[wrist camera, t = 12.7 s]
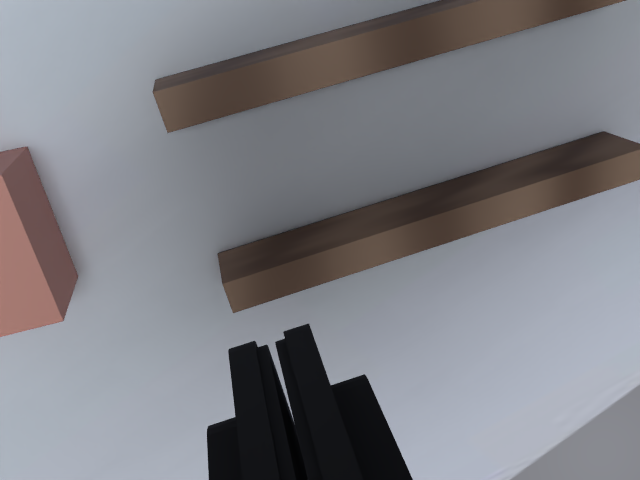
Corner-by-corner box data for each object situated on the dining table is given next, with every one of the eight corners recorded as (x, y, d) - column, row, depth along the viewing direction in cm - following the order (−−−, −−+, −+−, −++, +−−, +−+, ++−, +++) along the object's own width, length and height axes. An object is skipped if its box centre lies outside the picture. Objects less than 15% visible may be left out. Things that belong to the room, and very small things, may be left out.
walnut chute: (603, -45, 25) (655, -49, 22) (603, 159, 29) (647, 177, 26) (155, 79, 23) (153, 92, 20) (227, 280, 27) (233, 313, 24)
